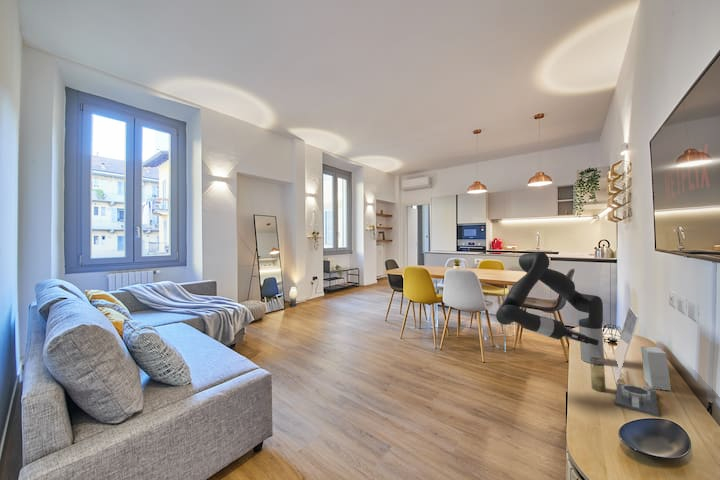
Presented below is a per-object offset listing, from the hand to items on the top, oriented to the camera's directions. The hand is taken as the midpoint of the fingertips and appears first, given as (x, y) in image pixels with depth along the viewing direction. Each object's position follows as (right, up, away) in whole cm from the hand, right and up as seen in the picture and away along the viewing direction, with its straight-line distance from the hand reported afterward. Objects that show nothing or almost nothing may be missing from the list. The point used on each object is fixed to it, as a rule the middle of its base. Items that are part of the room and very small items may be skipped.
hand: (591, 340), depth 116 cm
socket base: (+11, -20, -8) cm, 24 cm away
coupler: (+4, -20, +1) cm, 21 cm away
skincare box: (+28, -20, +2) cm, 35 cm away
